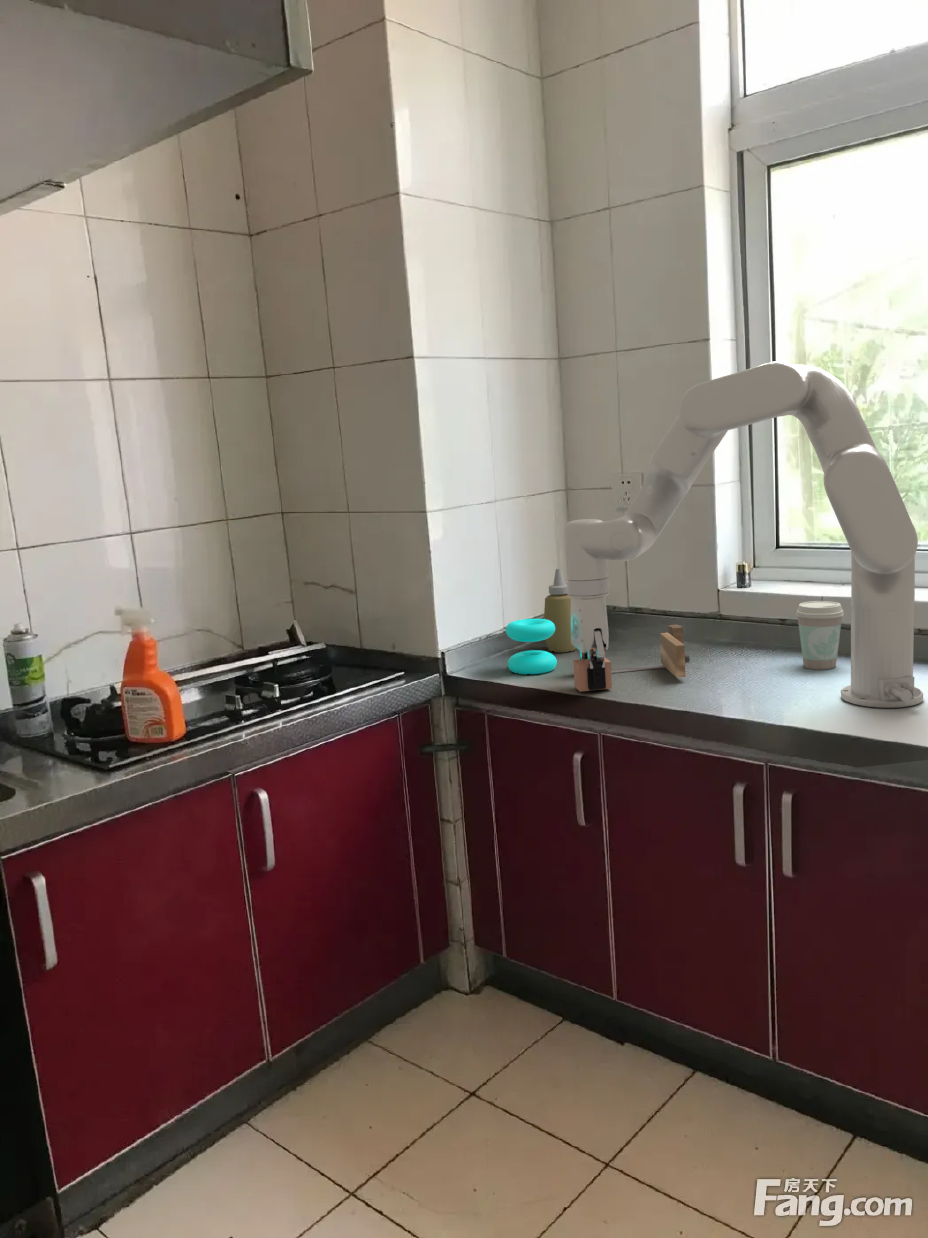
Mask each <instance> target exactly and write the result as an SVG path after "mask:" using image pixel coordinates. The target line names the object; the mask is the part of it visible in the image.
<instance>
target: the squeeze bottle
mask: <svg viewBox="0 0 928 1238" xmlns="http://www.w3.org/2000/svg"><path fill="white" fill-rule="evenodd" d="M553 579H554V580H553V583H552V584H551V585H549V586H548V593H549V595H547V596H546V597H545V598H544V609H543V610H544V613H543V619H546V620H550V621H552V622H553V623H554V625H555V632H554V634H553V635H552V636H551V637H549V638H547V639H545V640H544V641H545V644H546V646H547V648H548V651H549V652H552V651H554V652H553V653H568V652H569V651H570V652H572V651H575V650H576V649H577V648H575V647H574V646H573V645H572V643H571V598H569V597H568V589H567V583H566V582H565V579H564V574H563V570H562V568H557V569H555V572H554V578H553ZM570 652H569V653H570Z"/></svg>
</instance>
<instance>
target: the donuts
mask: <svg viewBox="0 0 928 1238" xmlns="http://www.w3.org/2000/svg"><path fill="white" fill-rule="evenodd" d="M554 632H555V625H554V623H553V622H552V621H550V620H546V619H544V618H523V619H517V620H514V621H511V622H509V623H508V624H507V625H506V627H505V633H506V635H507V637H508V638H510V639H511V640H513V641H516V642H521V643H535V642H540V641H545V639H547V638H549V637H551V636H552V635H553V634H554ZM557 664H558V660H557V658H556V656H555V655H554V654H553V653H551V652H550V651H547V650H546V651H545V650H535V649H529V650H523V651H520V652H516V653H515V654H514V653H513V654H512V655H511V656H510V657H509V658H508V661H507V667H508V669H509V671H511V672H513V673H515V674H517V673H518V675H527V674H530V675H540V674H546V673H549V672H551V671H553V670H554V669H556V667H557Z"/></svg>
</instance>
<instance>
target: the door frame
mask: <svg viewBox="0 0 928 1238" xmlns="http://www.w3.org/2000/svg"><path fill="white" fill-rule="evenodd" d="M667 633H669V634H671V635H672V636H673V637H674V638H676V639H677V640H678V641H680V642H681V643H682V644H684V627H683V626H682V625H679V624H671V625H670V624H669V625H667ZM591 651H592V649H591ZM662 669H667V668H666V667H665V666H664V665H663V664H656V665H647V666H646V665H645V666H644V665H643V666H636V667H635V666H634V667H623V668H613V669H612V668H611V674H618V673H629V672H630V673H631V672H640V671H653V670H662Z"/></svg>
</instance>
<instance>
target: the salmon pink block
mask: <svg viewBox="0 0 928 1238" xmlns="http://www.w3.org/2000/svg"><path fill="white" fill-rule="evenodd" d="M592 660H593V659H592ZM572 661H573V678H574V683H573V684H574V688H575V689H576V690H578V691H579V693H580V692H589V691H592V690H589V689H588V677H587V668H589V664H588V659H582V660H580V659H574V660H572ZM604 661H605V678H606V688H605V689H604V690H610V689H613V680H612V679H613V678H612V673H611V670H612V661H610V659H608V658H606V657H605V658H604ZM598 690H602V689H598ZM598 690H597V691H598Z"/></svg>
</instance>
